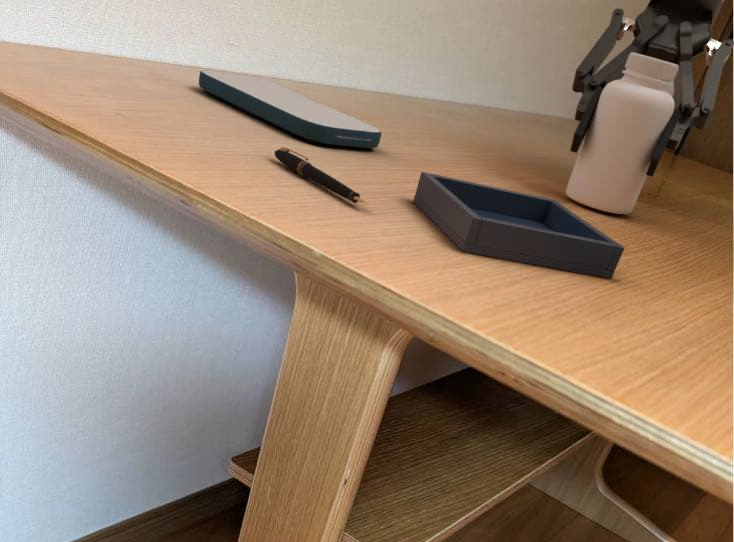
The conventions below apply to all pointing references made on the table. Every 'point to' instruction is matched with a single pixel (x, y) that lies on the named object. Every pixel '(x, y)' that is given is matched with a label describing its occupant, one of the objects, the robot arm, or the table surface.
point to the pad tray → (515, 226)
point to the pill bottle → (623, 136)
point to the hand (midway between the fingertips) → (613, 155)
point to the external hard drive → (290, 110)
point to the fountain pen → (315, 174)
